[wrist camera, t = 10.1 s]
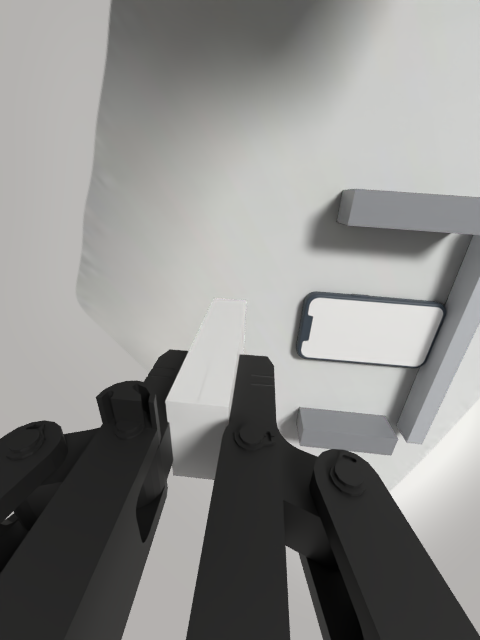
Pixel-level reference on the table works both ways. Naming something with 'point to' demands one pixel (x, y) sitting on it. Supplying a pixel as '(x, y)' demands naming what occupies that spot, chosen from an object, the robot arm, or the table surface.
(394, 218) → the grey u-shaped piece
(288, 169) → the table surface
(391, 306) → the smartphone
